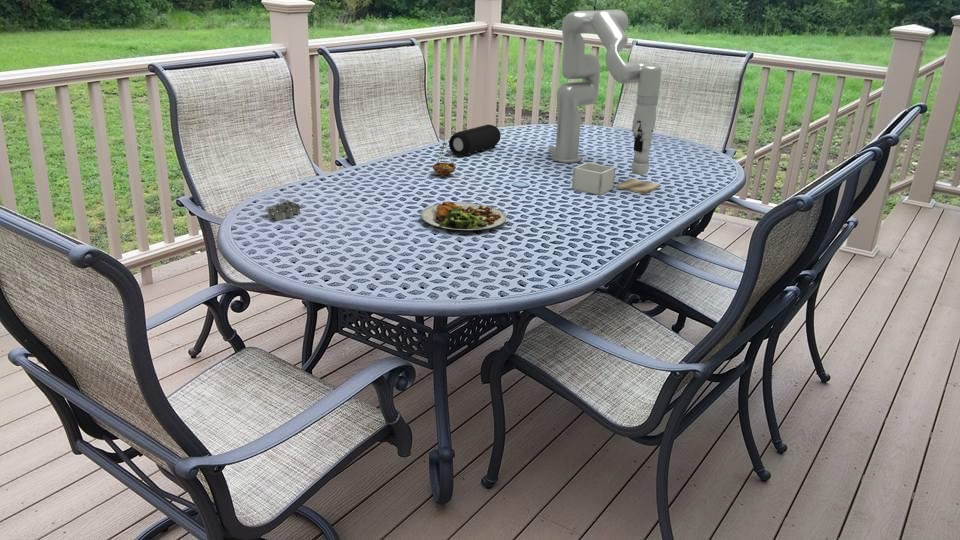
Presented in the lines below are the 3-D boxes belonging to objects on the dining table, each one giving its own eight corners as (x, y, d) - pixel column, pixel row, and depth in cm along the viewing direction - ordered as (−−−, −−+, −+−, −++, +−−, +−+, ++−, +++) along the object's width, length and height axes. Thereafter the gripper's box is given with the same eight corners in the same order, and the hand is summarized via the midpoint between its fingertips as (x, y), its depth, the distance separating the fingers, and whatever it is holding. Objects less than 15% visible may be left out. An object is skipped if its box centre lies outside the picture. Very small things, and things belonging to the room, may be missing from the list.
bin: (571, 188, 294) (573, 167, 290) (585, 182, 302) (587, 162, 298) (599, 195, 287) (601, 173, 284) (613, 188, 295) (615, 167, 292)
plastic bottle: (647, 172, 299) (653, 119, 291) (648, 177, 292) (655, 123, 285) (629, 171, 299) (635, 118, 291) (631, 176, 293) (637, 122, 285)
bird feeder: (428, 176, 303) (429, 97, 291) (438, 170, 310) (439, 93, 299) (449, 179, 300) (451, 99, 288) (459, 173, 307) (460, 95, 296)
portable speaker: (484, 144, 353) (484, 121, 349) (501, 148, 347) (502, 125, 343) (447, 154, 334) (447, 131, 330) (465, 159, 329) (465, 135, 325)
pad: (615, 187, 296) (616, 185, 296) (630, 180, 305) (630, 178, 305) (645, 194, 290) (645, 191, 290) (659, 187, 299) (659, 184, 299)
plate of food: (464, 242, 239) (465, 223, 237) (402, 219, 256) (402, 201, 254) (523, 224, 259) (525, 206, 256) (462, 203, 276) (463, 187, 273)
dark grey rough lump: (279, 222, 251) (278, 210, 249) (263, 217, 254) (262, 205, 253) (304, 214, 259) (303, 202, 257) (288, 209, 263) (287, 197, 261)
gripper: (648, 95, 294) (642, 143, 301) (627, 102, 281) (622, 152, 288) (667, 98, 290) (661, 147, 297) (646, 105, 277) (641, 155, 284)
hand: (642, 149), depth 292 cm, fingers closed on plastic bottle, 6 cm apart
